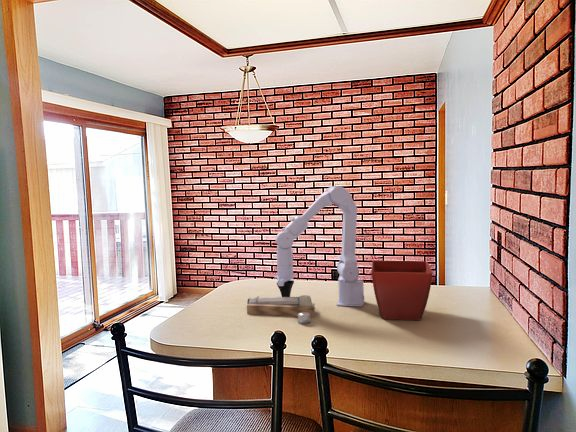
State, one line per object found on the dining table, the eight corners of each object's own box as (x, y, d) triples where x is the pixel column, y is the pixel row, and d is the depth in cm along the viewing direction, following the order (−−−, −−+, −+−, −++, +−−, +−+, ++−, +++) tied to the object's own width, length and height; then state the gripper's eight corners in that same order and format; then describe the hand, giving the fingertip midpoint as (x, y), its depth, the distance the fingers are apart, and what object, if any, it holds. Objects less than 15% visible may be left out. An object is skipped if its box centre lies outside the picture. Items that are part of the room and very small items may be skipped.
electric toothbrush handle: (251, 295, 172) (314, 290, 163) (254, 313, 172) (317, 309, 163) (245, 299, 167) (309, 294, 158) (248, 317, 167) (312, 313, 158)
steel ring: (311, 321, 152) (311, 312, 151) (308, 324, 148) (308, 315, 147) (299, 320, 152) (299, 311, 152) (296, 324, 149) (296, 315, 148)
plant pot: (433, 324, 144) (433, 272, 143) (371, 322, 148) (371, 271, 146) (427, 307, 163) (427, 260, 161) (372, 305, 166) (372, 260, 165)
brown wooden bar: (314, 314, 158) (314, 306, 158) (313, 316, 156) (313, 307, 156) (249, 311, 164) (248, 303, 164) (247, 313, 162) (246, 305, 161)
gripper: (279, 260, 174) (280, 295, 176) (268, 268, 160) (270, 305, 162) (297, 260, 173) (298, 295, 174) (288, 268, 159) (289, 306, 160)
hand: (286, 300), depth 168 cm, fingers closed
